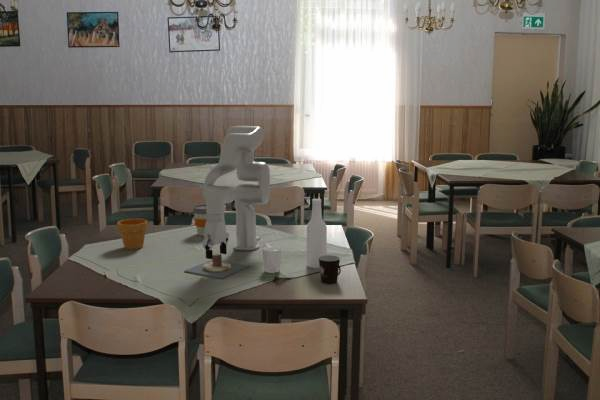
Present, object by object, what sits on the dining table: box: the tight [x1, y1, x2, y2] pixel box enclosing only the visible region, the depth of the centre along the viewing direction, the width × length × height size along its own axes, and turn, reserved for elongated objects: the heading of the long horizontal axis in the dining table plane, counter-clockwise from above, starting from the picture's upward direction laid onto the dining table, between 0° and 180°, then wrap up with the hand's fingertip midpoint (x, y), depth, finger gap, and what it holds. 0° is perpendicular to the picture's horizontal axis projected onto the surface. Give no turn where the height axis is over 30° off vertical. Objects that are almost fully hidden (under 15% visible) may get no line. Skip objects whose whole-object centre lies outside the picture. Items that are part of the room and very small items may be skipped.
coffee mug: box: [319, 254, 342, 285], centre depth 251 cm, size 12×9×10 cm
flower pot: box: [116, 218, 148, 250], centre depth 307 cm, size 14×14×13 cm
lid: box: [203, 254, 231, 272], centre depth 270 cm, size 12×12×6 cm
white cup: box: [262, 245, 282, 274], centre depth 267 cm, size 8×8×10 cm
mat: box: [183, 259, 250, 280], centre depth 271 cm, size 20×20×1 cm
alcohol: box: [306, 198, 328, 270], centre depth 272 cm, size 9×9×30 cm
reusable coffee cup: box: [192, 204, 207, 237], centre depth 332 cm, size 13×12×15 cm
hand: (216, 256), depth 269 cm, fingers open, 9 cm apart
